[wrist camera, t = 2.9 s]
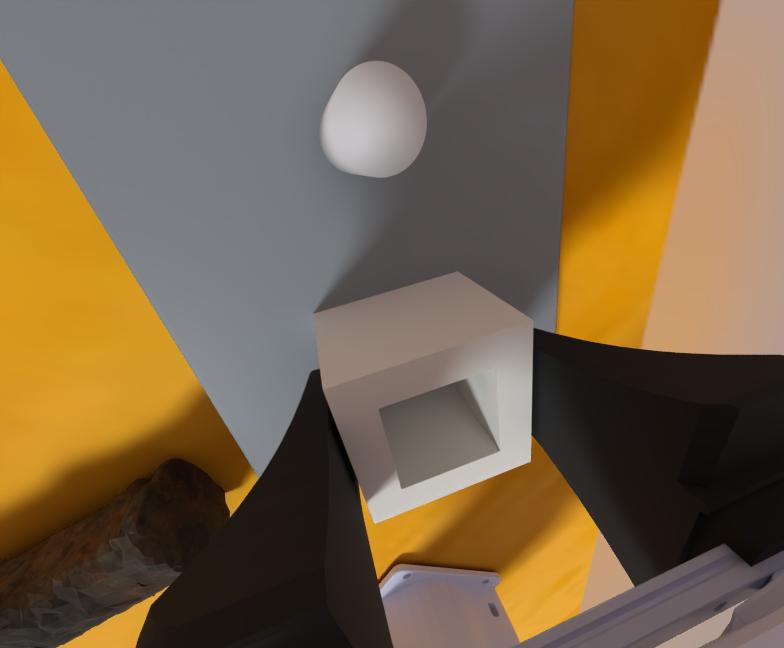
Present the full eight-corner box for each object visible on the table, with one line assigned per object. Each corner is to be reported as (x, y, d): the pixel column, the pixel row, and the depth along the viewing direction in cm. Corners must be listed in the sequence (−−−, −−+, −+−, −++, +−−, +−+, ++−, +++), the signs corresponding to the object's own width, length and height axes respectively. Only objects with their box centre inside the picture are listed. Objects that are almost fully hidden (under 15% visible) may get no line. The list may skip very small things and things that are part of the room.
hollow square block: (469, 384, 13) (530, 461, 10) (352, 425, 13) (374, 524, 9) (457, 271, 11) (533, 320, 8) (312, 313, 10) (322, 389, 7)
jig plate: (535, 367, 16) (608, 428, 12) (266, 462, 14) (256, 569, 10) (545, -85, 9) (733, -269, 5) (-9, -14, 7) (-374, -232, 3)
